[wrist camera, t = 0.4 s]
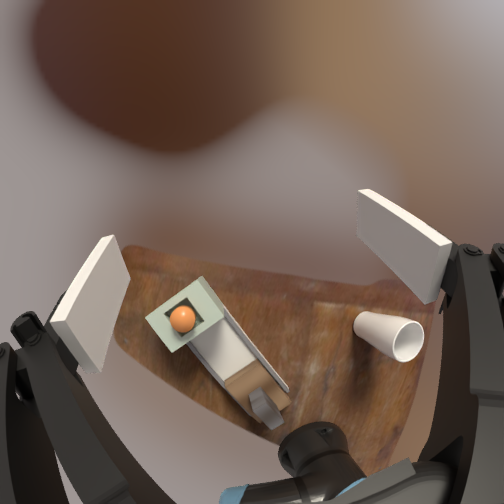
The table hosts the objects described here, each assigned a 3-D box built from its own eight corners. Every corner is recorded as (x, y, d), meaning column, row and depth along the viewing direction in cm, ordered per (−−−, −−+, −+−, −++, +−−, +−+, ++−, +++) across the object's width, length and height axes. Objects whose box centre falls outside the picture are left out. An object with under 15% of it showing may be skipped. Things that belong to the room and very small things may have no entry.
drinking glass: (383, 320, 50) (430, 336, 35) (362, 346, 50) (406, 370, 35) (364, 300, 50) (411, 311, 35) (342, 327, 49) (384, 348, 34)
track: (287, 385, 48) (290, 390, 45) (248, 410, 46) (250, 417, 44) (222, 303, 47) (223, 306, 44) (181, 333, 46) (179, 336, 43)
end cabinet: (222, 303, 47) (224, 316, 36) (181, 333, 46) (171, 352, 35) (202, 275, 46) (197, 279, 36) (161, 305, 45) (145, 317, 34)
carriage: (287, 395, 46) (301, 419, 37) (257, 415, 45) (264, 442, 36) (256, 358, 45) (265, 378, 36) (224, 380, 44) (226, 404, 35)
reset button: (200, 319, 36) (199, 323, 34) (182, 332, 36) (180, 337, 33) (186, 300, 36) (184, 303, 33) (168, 313, 35) (164, 317, 33)
